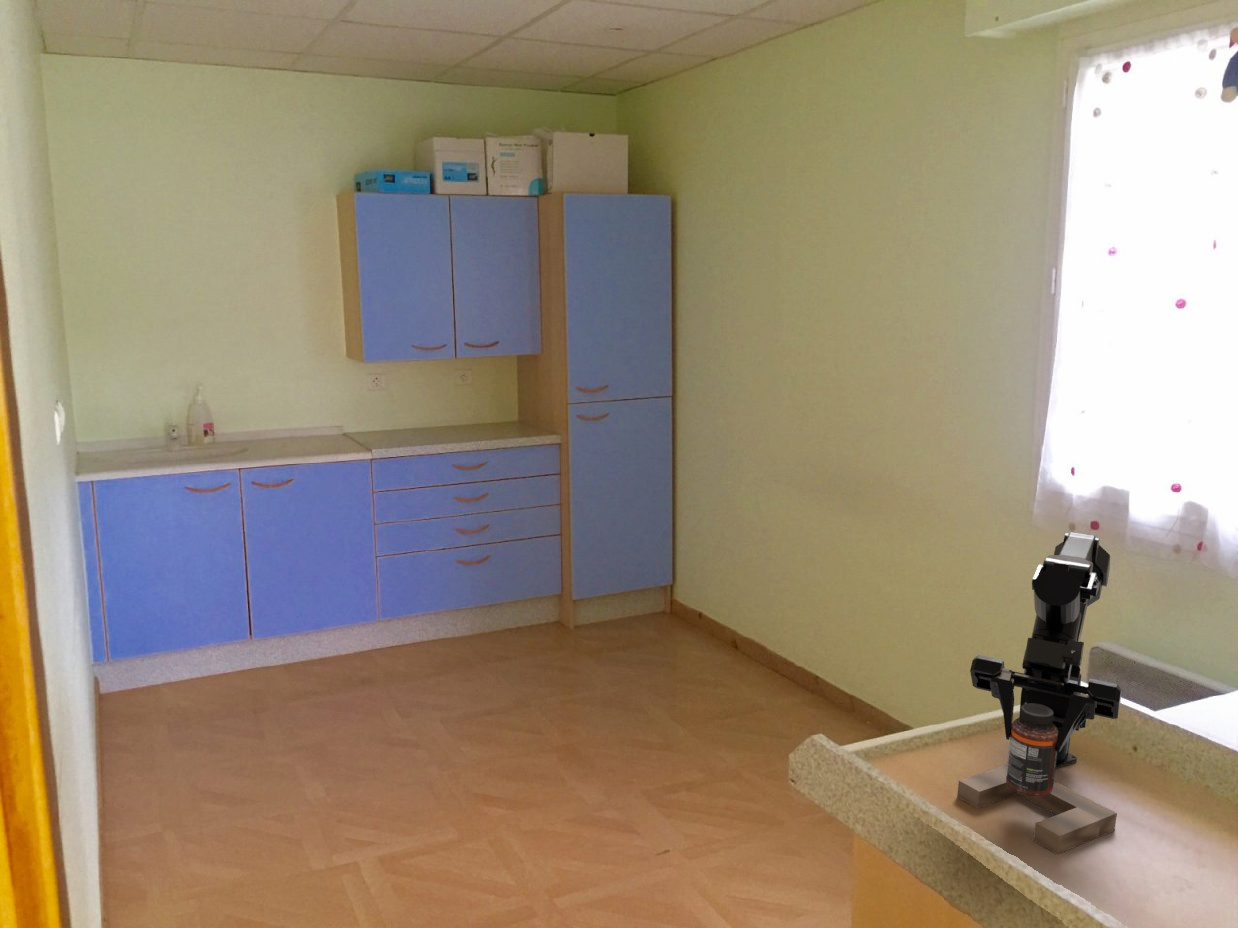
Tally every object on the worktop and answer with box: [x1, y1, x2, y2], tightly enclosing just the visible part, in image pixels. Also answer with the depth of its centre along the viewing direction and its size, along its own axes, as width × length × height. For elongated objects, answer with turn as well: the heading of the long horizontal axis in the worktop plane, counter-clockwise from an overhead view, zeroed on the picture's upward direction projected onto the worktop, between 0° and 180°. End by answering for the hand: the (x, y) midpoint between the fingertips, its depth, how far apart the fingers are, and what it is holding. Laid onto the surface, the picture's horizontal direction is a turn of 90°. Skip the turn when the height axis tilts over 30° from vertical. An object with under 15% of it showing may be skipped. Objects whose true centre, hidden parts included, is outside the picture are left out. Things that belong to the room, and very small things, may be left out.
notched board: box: [956, 764, 1118, 855], centre depth 141 cm, size 12×16×2 cm
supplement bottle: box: [1006, 703, 1059, 797], centre depth 138 cm, size 6×6×11 cm
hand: (1032, 744), depth 137 cm, fingers closed on supplement bottle, 6 cm apart
